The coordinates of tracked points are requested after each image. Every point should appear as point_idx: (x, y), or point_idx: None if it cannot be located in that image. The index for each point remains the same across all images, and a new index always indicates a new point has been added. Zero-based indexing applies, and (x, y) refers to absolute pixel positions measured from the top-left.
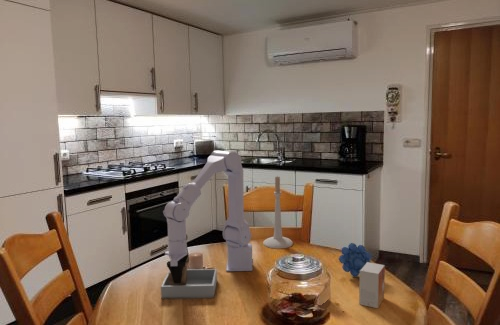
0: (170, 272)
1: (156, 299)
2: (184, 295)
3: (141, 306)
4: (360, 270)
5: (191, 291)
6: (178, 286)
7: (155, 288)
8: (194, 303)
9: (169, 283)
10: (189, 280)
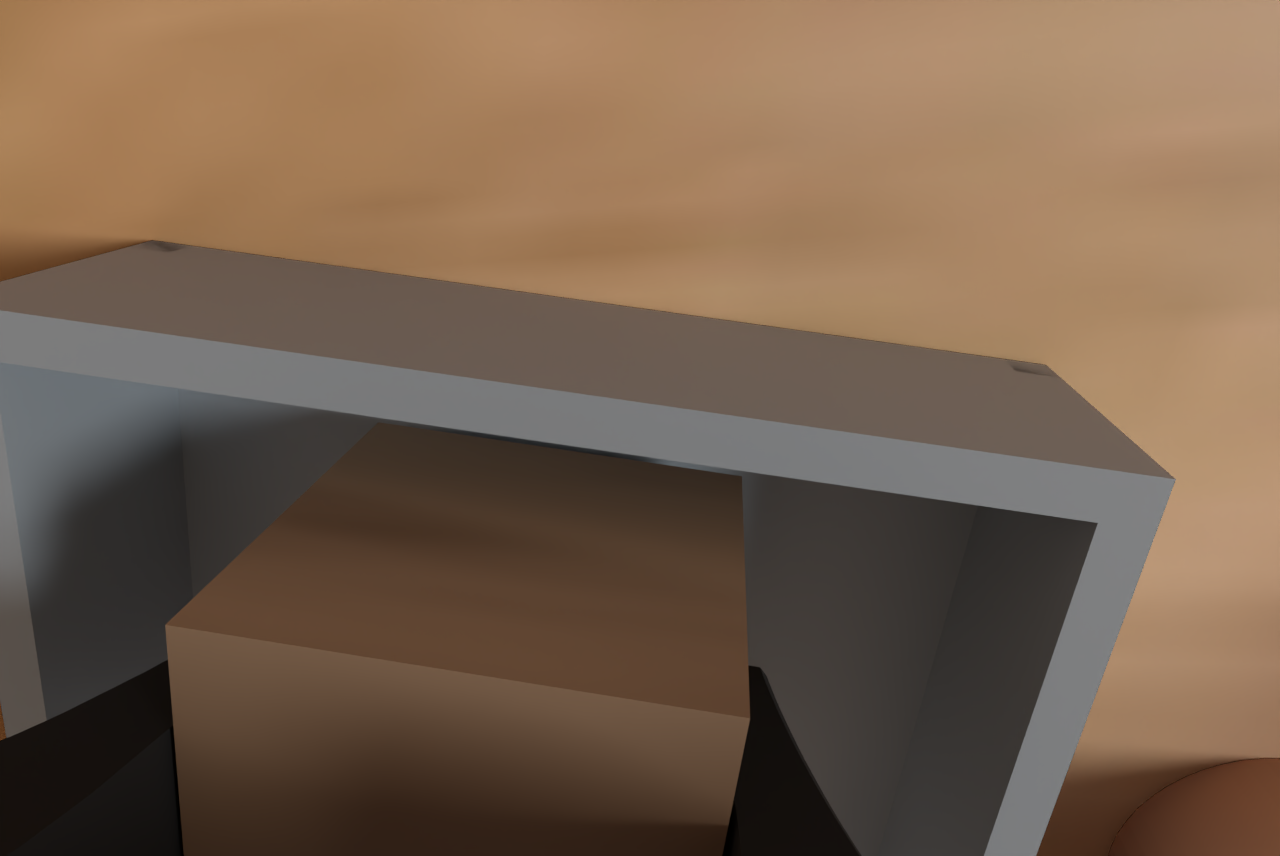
0: (211, 686)
1: (132, 136)
2: None
3: None
4: None
5: None
6: (1, 707)
7: (691, 44)
8: None
9: (336, 476)
10: (861, 763)
